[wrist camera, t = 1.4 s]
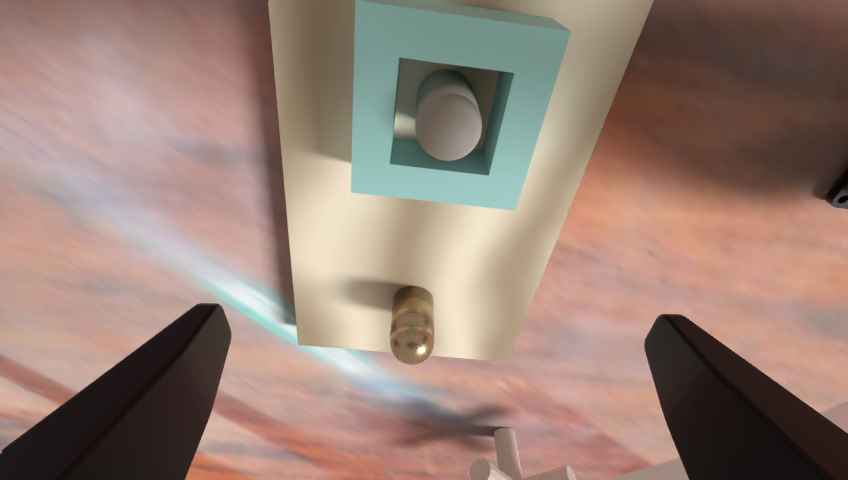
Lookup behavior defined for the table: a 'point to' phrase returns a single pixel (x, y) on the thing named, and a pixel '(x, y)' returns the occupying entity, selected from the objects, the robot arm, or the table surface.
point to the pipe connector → (511, 463)
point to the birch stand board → (421, 230)
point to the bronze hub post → (412, 325)
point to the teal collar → (458, 45)
